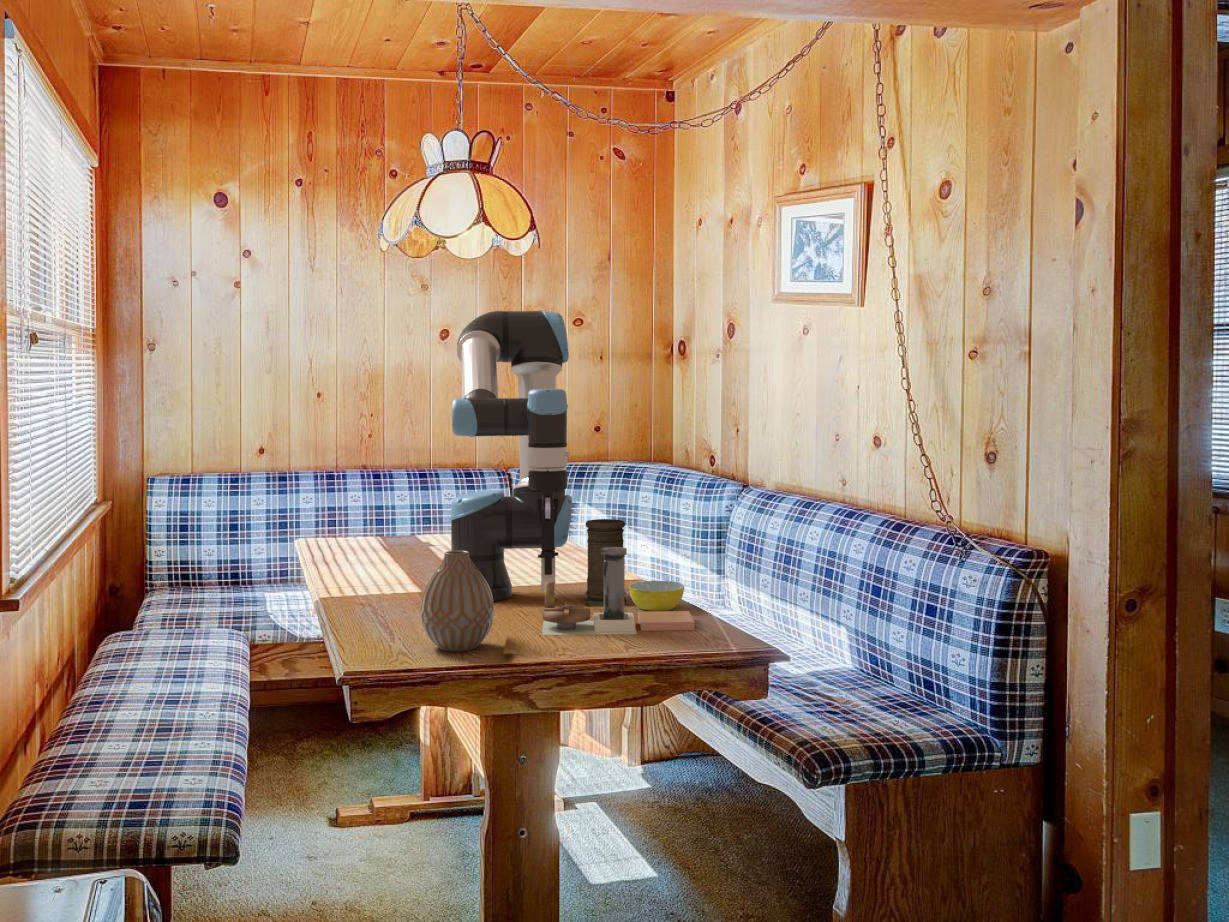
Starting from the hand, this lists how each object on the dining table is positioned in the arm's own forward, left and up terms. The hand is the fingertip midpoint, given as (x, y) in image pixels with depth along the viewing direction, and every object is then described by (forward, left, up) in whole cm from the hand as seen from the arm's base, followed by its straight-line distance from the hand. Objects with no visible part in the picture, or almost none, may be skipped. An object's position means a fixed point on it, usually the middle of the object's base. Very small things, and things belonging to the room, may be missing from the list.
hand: (548, 590), depth 231 cm
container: (+12, +24, -8) cm, 28 cm away
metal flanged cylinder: (+12, -6, -6) cm, 15 cm away
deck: (+8, -6, -8) cm, 12 cm away
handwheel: (+3, -6, -4) cm, 8 cm away
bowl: (+22, +12, -8) cm, 26 cm away
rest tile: (+22, -4, -8) cm, 24 cm away
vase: (-16, -15, -8) cm, 23 cm away
